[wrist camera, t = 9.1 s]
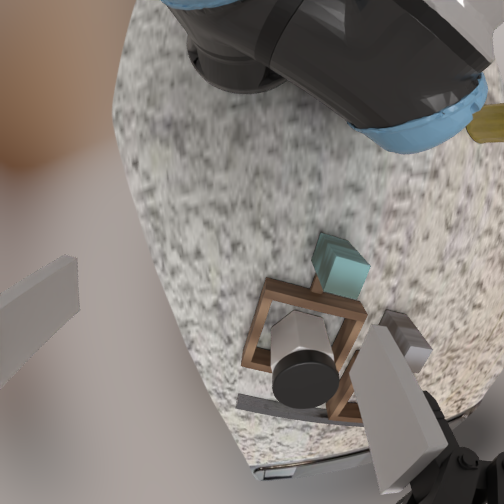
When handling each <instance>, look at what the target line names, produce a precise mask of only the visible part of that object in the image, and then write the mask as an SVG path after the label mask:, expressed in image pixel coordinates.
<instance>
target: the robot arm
mask: <svg viewBox="0 0 504 504" xmlns="http://www.w3.org/2000/svg"><path fill="white" fill-rule="evenodd" d="M161 1H162V3H164V4H166V5H167V7H168V8H169V9H170V11H171V12H172V13H173V14H174V16H175V17H176V18H177V20H178V21H179V22H180V24H181V25H182V26H183V28H184V29H185V30H186V32H187V33H188V38H187V50H188V55H189V58H190V60H191V63H192V64H193V66H194V68H195V69H196V70H197V72H198V73H199V74H200V75H201V76H202V77H203V78H204V79H205V80H206V81H207V82H209V83H210V84H212V85H213V86H215V87H217V88H219V89H221V90H224V91H227V92H231V93H238V94H254V93H260V92H264V91H268V90H271V89H273V88H275V87H277V86H279V85H281V84H283V83H284V82H285V81H287V80H289V81H290V82H292V83H294V84H295V85H297V86H298V87H300V88H301V89H303V90H304V91H306V92H307V93H309V94H310V95H312V96H313V97H315V98H316V99H318V100H319V101H320V102H322V103H323V104H325V105H326V106H327V107H329V108H330V109H332V110H333V111H334V112H336V113H337V114H338V115H340V116H341V117H342V118H344V119H345V120H346V121H347V124H348V125H349V126H350V127H351V128H353V129H354V130H356V131H358V132H361V133H363V134H365V135H366V136H367V137H369V138H370V139H371V140H373V141H374V142H375V143H376V144H378V145H379V146H380V147H382V148H383V149H385V150H387V151H390V152H394V153H399V154H414V153H419V152H422V151H426V150H429V149H431V148H433V147H435V146H438V145H439V144H441V143H443V142H445V141H447V140H448V139H450V138H452V137H453V136H455V135H456V134H457V133H459V132H460V131H461V130H463V129H464V128H465V127H466V126H467V125H468V124H469V123H470V122H471V121H472V120H473V115H472V114H473V113H475V112H478V111H480V110H481V108H482V107H483V105H484V103H485V101H486V98H487V92H488V86H487V82H486V80H485V76H484V74H483V72H482V71H483V70H485V69H486V68H487V67H488V66H489V65H490V64H492V62H493V61H494V50H493V39H492V37H493V33H494V30H495V29H496V28H497V27H498V26H500V25H501V24H502V23H503V22H504V0H161ZM77 264H78V262H77V258H76V257H72V256H68V255H63V256H61V257H59V258H58V259H56V260H54V261H53V262H51V263H49V264H47V265H46V266H44V267H42V268H41V269H39V270H37V271H36V272H34V273H32V274H31V275H29V276H28V277H26V278H24V279H23V280H21V281H20V282H18V283H16V284H15V285H13V286H12V287H10V288H8V289H7V290H6V291H4V292H2V293H1V294H0V389H1V388H2V387H3V386H4V385H5V384H6V383H7V381H9V379H10V378H11V377H12V376H13V375H14V374H15V373H16V372H17V371H18V370H19V369H20V368H21V367H22V366H23V365H24V364H25V363H26V362H27V361H28V360H29V359H30V358H31V357H32V356H33V355H34V354H35V353H36V352H37V351H38V350H39V349H40V348H41V347H42V346H43V345H44V344H45V343H46V342H47V341H48V340H49V339H50V338H51V337H52V336H53V335H54V334H55V333H56V332H57V331H58V330H59V329H60V328H62V327H63V326H64V325H65V324H66V323H67V322H68V321H69V320H70V319H71V318H72V317H73V316H74V315H75V314H77V313H78V312H79V311H80V305H79V289H78V265H77ZM349 375H350V378H351V382H352V385H353V389H354V392H355V396H356V399H357V403H358V406H359V410H360V413H361V417H362V421H363V424H364V428H365V432H366V436H367V440H368V443H369V447H370V451H371V455H372V459H373V463H374V468H375V472H376V476H377V480H378V485H379V489H380V493H381V494H388V493H395V492H400V491H401V490H402V489H404V487H406V486H407V485H408V484H409V483H410V485H411V489H412V490H411V491H410V492H409V493H408V494H407V495H405V496H404V497H403V498H402V499H401V500H399V501H398V502H397V503H396V504H401V503H402V502H403V503H402V504H486V503H487V504H504V452H502V453H500V454H499V455H498V456H497V457H496V458H495V459H494V460H493V461H482V460H479V457H478V456H477V455H476V453H475V452H473V451H472V450H470V449H469V448H465V447H459V445H458V443H457V441H456V439H455V437H454V435H453V433H452V431H451V429H450V427H449V425H448V423H447V421H446V419H444V418H445V417H444V415H443V413H442V411H440V410H441V409H440V407H439V405H438V403H437V402H436V400H435V399H434V398H433V397H432V396H431V395H430V394H429V393H428V392H427V391H422V389H421V388H420V386H419V384H418V382H417V380H416V378H415V376H414V374H413V373H412V371H411V369H410V367H409V365H408V363H407V362H406V360H405V358H404V356H403V354H402V353H401V351H400V349H399V347H398V346H397V344H396V342H395V340H394V339H393V337H392V335H391V333H390V332H389V330H388V328H387V327H385V326H379V325H373V324H371V327H370V329H369V331H368V334H367V336H366V338H365V340H364V342H363V345H362V347H361V349H360V351H359V353H358V355H357V358H356V360H355V362H354V364H353V366H352V368H351V370H350V372H349Z"/></svg>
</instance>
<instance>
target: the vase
mask: <svg viewBox="0 0 504 504" xmlns="http://www.w3.org/2000/svg"><path fill="white" fill-rule="evenodd" d="M472 115H473V120H472V121H471V122H470V123H469V124H468V125H467V126H466V128H467V131H468V133H469V135H470V136H471V137H472V139H473V140H474V141H476V142H478V143H481V144H482V143H486V142H504V103H500V104H490V105H483V107H482V108H481V110H480V111H478V112H475V113H473V114H472Z"/></svg>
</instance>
